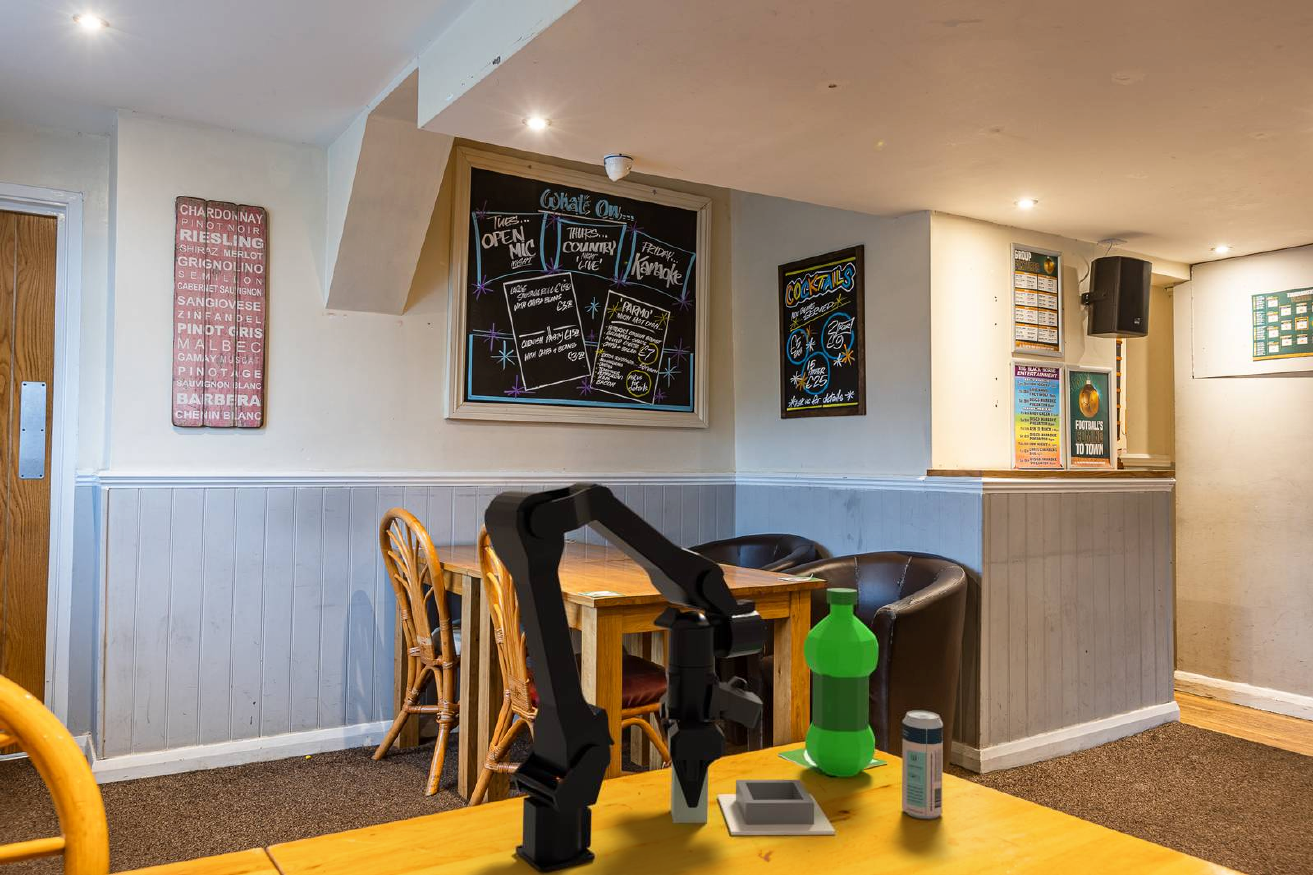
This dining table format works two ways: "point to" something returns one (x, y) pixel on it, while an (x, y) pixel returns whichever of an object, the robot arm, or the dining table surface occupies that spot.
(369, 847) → the dining table surface
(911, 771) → the beer can
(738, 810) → the socket
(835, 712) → the plastic bottle
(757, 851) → the dining table surface
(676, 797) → the sage block
